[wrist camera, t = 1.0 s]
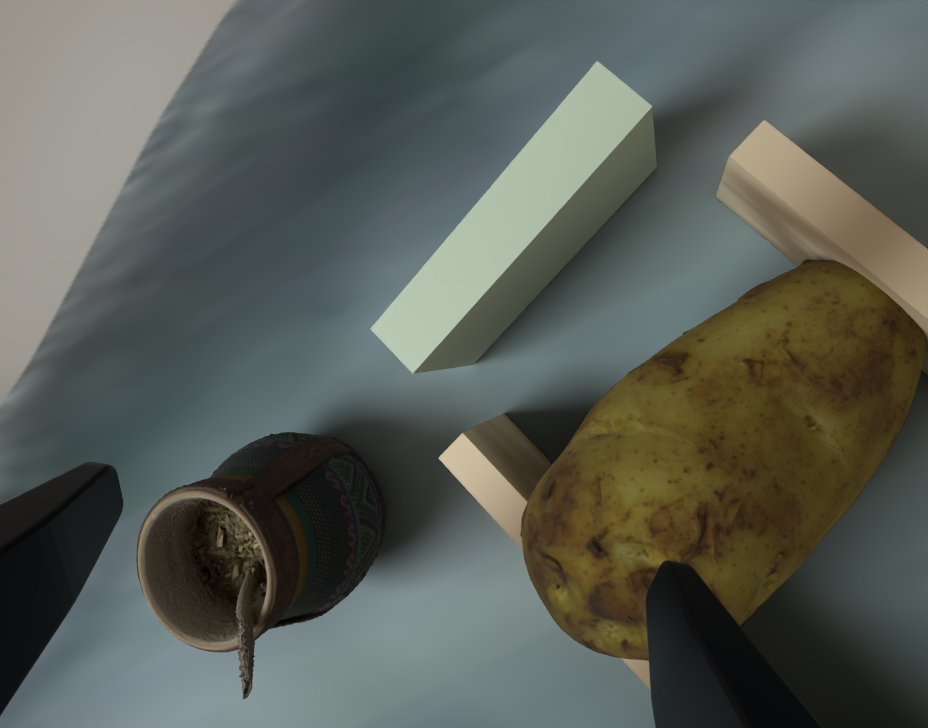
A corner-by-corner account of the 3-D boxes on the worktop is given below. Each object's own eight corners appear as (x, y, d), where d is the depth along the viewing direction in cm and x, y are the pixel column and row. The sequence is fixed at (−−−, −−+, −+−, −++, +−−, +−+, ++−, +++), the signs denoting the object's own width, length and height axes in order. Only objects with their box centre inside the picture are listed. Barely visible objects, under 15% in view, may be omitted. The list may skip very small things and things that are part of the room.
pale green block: (656, 167, 21) (652, 106, 16) (473, 364, 24) (412, 373, 18) (607, 124, 22) (585, 50, 16) (432, 322, 24) (361, 319, 19)
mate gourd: (293, 394, 27) (94, 426, 17) (437, 470, 25) (301, 554, 15) (243, 532, 28) (31, 632, 19) (377, 615, 26) (215, 776, 17)
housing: (1294, 622, 16) (1825, 866, 9) (887, 860, 20) (1020, 1179, 12) (742, 169, 20) (785, 72, 13) (483, 433, 24) (398, 479, 16)
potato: (984, 471, 18) (1202, 566, 11) (608, 609, 22) (577, 748, 15) (844, 240, 19) (956, 179, 12) (507, 412, 23) (429, 448, 16)
